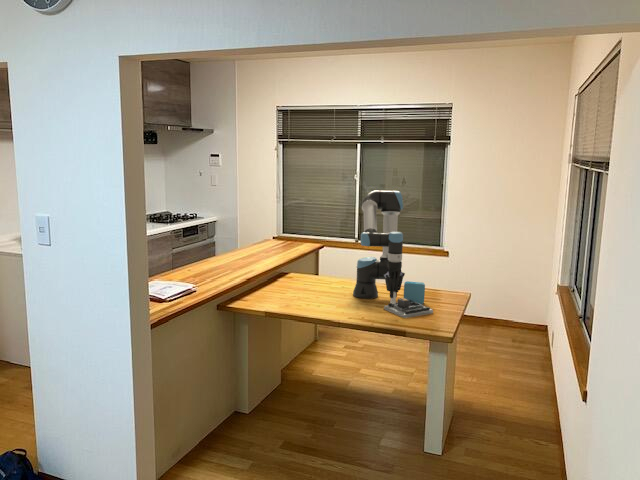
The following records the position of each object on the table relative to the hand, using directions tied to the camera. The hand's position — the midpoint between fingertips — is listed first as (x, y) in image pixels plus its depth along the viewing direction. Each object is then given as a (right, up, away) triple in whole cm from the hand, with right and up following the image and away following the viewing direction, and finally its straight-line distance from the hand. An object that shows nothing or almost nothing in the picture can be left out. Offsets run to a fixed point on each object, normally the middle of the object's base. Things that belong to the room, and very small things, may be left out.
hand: (392, 303), depth 290 cm
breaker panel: (+9, -5, +7) cm, 13 cm away
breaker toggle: (+6, -3, +5) cm, 8 cm away
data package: (+15, -3, +24) cm, 29 cm away
